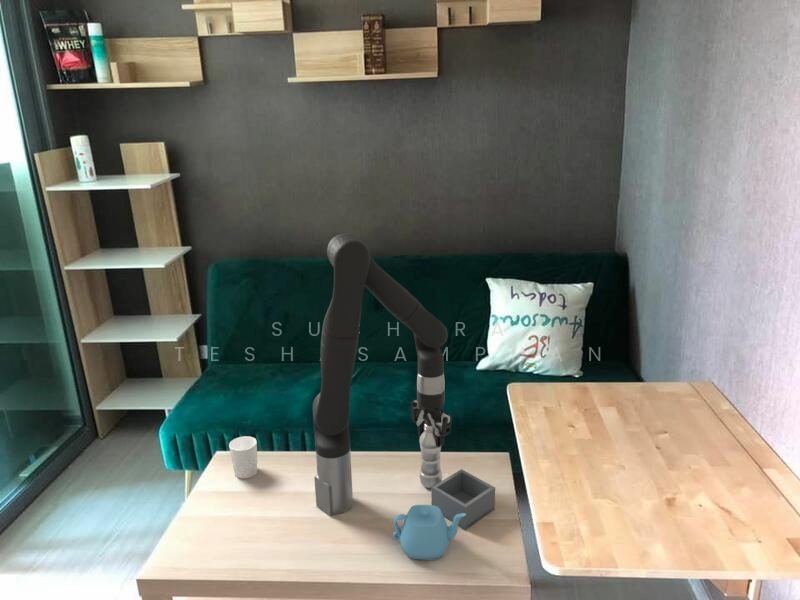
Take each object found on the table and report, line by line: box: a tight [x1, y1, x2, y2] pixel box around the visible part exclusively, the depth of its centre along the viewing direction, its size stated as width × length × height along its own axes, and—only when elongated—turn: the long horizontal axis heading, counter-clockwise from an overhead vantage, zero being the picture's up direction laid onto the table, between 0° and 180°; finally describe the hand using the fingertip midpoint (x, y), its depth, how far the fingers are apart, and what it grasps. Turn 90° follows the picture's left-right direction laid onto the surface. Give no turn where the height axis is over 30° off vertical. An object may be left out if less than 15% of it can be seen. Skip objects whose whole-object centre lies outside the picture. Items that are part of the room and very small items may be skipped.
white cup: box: [228, 435, 258, 480], centre depth 187 cm, size 8×8×10 cm
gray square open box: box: [431, 468, 496, 531], centre depth 170 cm, size 12×12×7 cm
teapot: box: [392, 504, 466, 561], centre depth 156 cm, size 13×11×18 cm
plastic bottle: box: [419, 421, 443, 489], centre depth 178 cm, size 6×7×20 cm
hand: (430, 441), depth 177 cm, fingers closed on plastic bottle, 6 cm apart
